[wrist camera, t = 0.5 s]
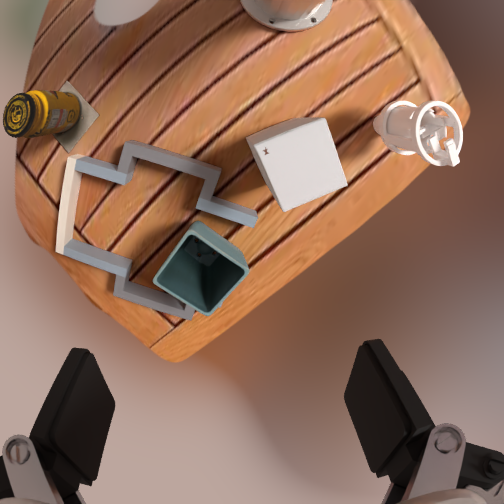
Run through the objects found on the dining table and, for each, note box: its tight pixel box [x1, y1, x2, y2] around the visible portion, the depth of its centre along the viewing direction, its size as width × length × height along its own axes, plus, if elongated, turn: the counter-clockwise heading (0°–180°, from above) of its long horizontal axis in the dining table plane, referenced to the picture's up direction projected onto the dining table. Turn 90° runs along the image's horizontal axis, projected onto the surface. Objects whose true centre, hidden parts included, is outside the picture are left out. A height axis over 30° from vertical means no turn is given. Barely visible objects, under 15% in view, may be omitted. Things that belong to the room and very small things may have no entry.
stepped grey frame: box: [56, 140, 258, 320], centre depth 39 cm, size 23×28×3 cm
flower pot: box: [153, 221, 249, 316], centre depth 39 cm, size 9×9×9 cm
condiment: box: [3, 81, 99, 153], centre depth 27 cm, size 7×8×12 cm
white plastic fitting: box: [373, 101, 463, 166], centre depth 30 cm, size 7×7×15 cm
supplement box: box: [246, 118, 348, 212], centre depth 32 cm, size 7×7×13 cm
